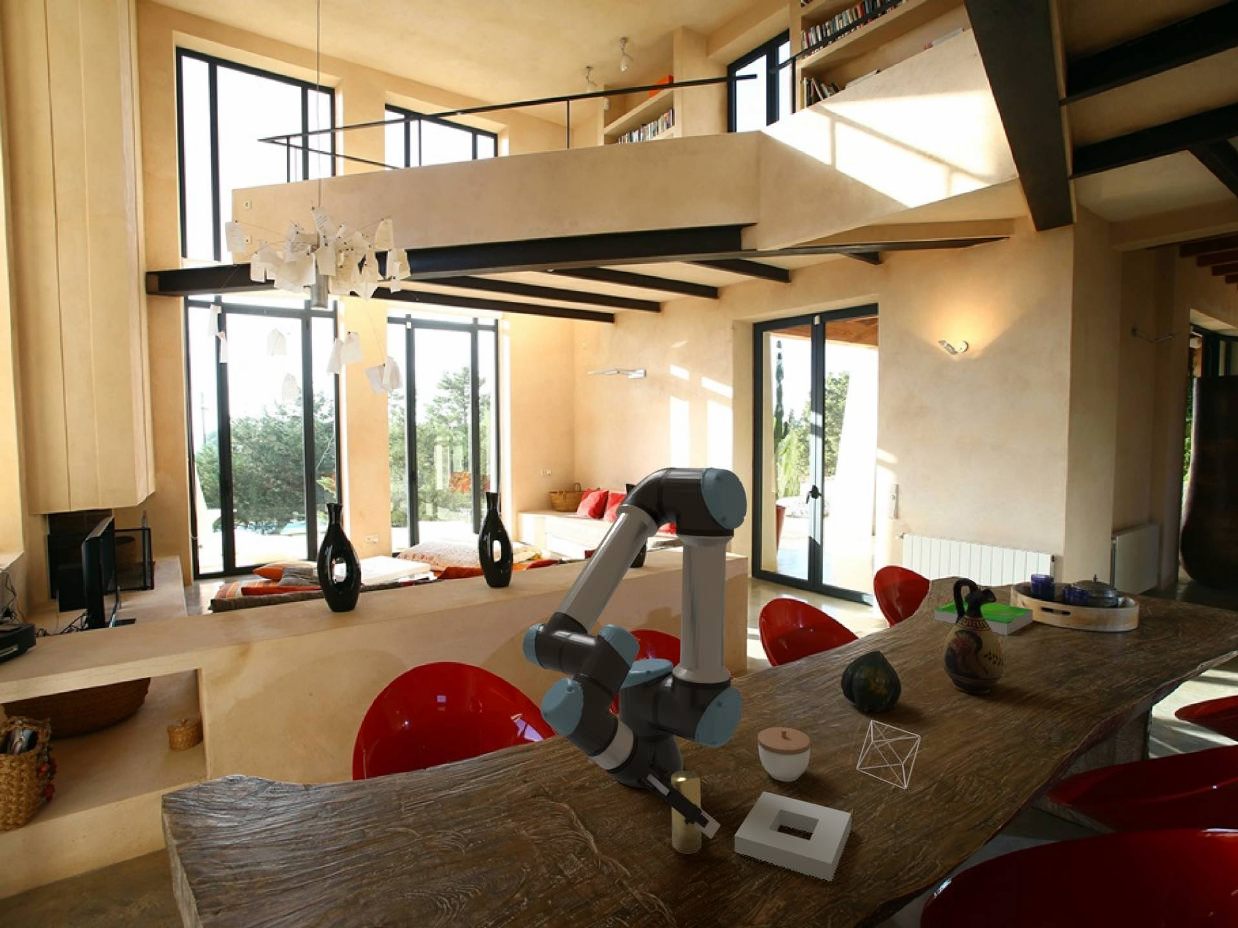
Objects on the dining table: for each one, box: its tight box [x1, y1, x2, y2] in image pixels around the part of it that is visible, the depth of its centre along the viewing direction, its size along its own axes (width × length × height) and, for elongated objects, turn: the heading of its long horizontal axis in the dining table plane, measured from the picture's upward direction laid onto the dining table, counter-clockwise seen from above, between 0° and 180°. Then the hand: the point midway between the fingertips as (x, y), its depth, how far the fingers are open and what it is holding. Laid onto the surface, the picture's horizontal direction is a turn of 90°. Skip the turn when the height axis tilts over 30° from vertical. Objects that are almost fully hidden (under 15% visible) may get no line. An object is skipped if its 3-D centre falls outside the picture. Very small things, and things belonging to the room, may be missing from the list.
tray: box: [933, 597, 1034, 636], centre depth 248 cm, size 25×25×5 cm
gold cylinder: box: [671, 770, 702, 853], centre depth 115 cm, size 5×5×12 cm
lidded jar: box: [757, 726, 811, 782], centre depth 138 cm, size 11×11×9 cm
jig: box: [734, 791, 852, 882], centre depth 115 cm, size 16×16×3 cm
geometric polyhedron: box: [856, 719, 922, 790], centre depth 138 cm, size 12×11×9 cm
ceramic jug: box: [941, 577, 1005, 695], centre depth 184 cm, size 17×15×30 cm
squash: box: [840, 650, 902, 713], centre depth 172 cm, size 14×15×15 cm
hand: (704, 821), depth 116 cm, fingers open, 6 cm apart
